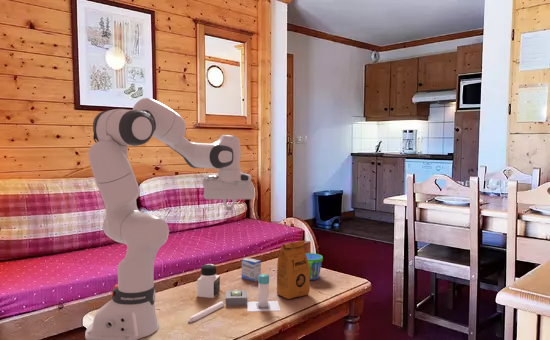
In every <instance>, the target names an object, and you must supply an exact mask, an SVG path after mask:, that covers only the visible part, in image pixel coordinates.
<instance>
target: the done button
mask: <svg viewBox="0 0 550 340" xmlns="http://www.w3.org/2000/svg"><path fill="white" fill-rule="evenodd" d="M232 296H241V292H240V291H233V292H232Z"/></svg>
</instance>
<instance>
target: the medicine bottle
mask: <svg viewBox="0 0 550 340" xmlns="http://www.w3.org/2000/svg"><path fill="white" fill-rule="evenodd" d="M220 276H221V275H220V274H219V275H218V274H217V265H215V264H212V263H207V264H204V265H203V264H202V265H201V268H200V277H199V278H197V281H196V287H197V288H196V290H197V292H196V296H197V297H199V298H206V299H215V298H216V297H217V295H218V294H219V293H220V292H221V291H220V290H221V289H220V288H221V277H220Z"/></svg>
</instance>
